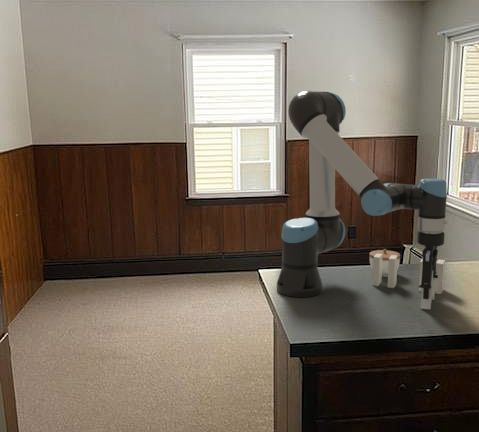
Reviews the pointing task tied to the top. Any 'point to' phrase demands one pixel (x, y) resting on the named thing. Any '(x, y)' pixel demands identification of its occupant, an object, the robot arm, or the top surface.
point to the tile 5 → (439, 276)
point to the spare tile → (431, 285)
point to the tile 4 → (420, 274)
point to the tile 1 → (377, 269)
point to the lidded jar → (384, 260)
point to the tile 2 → (392, 271)
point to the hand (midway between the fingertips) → (427, 303)
